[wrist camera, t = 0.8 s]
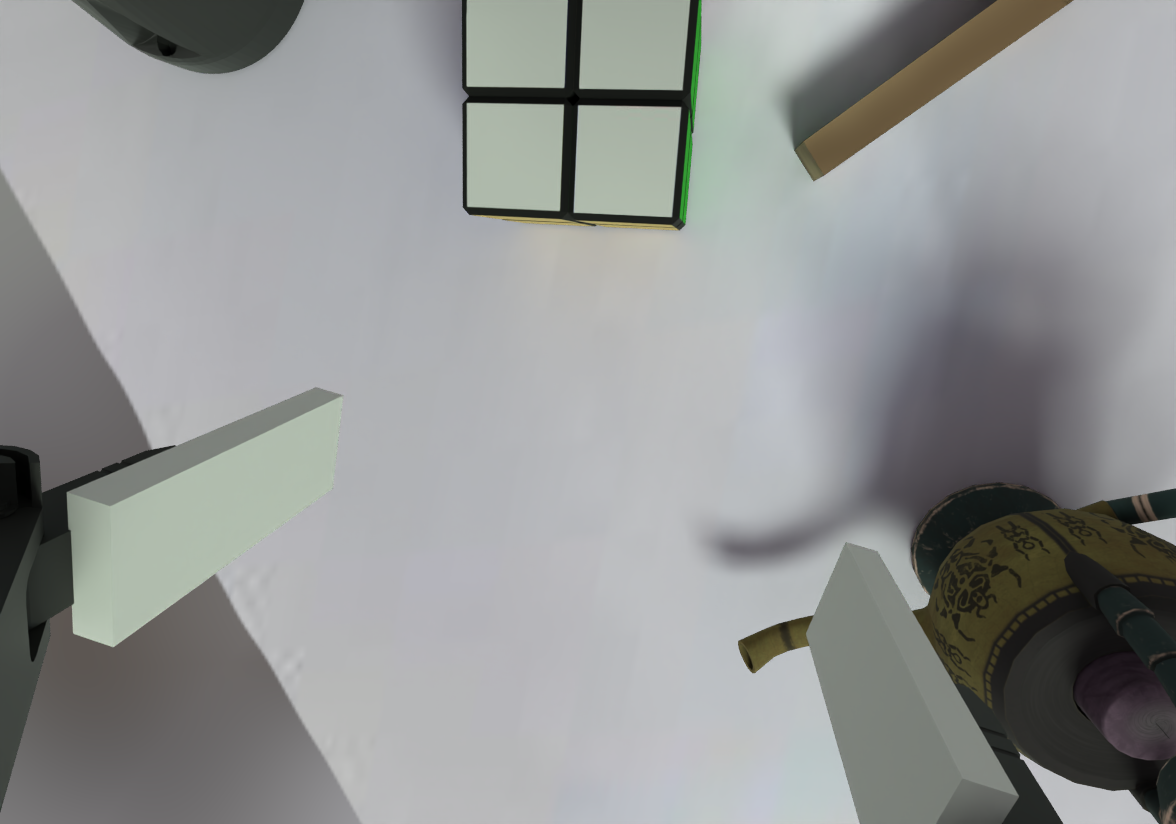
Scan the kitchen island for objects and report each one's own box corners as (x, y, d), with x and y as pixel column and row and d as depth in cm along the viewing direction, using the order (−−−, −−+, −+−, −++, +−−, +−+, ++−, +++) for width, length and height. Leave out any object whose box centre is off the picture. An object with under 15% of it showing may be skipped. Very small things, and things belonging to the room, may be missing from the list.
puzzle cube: (524, 40, 34) (458, -39, 25) (702, 39, 33) (702, -45, 23) (521, 223, 37) (460, 215, 28) (684, 231, 36) (679, 225, 26)
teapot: (1175, 602, 36) (1923, 1158, 14) (762, 682, 42) (831, 1153, 20) (1137, 418, 34) (1955, 736, 12) (707, 531, 40) (718, 877, 18)
